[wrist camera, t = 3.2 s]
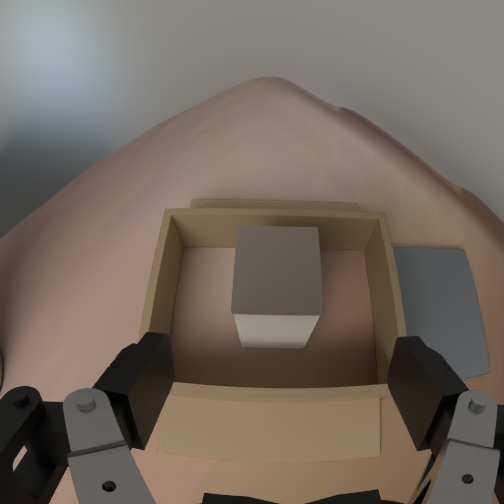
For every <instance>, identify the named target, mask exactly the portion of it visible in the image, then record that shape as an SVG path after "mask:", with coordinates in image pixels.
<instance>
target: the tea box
mask: <svg viewBox="0 0 504 504" xmlns="http://www.w3.org/2000/svg"><path fill="white" fill-rule="evenodd" d="M231 311H232V314H234V318H235V322H236V326H237V329H238V333H239V337H240V341H241V345H242V347H244V348H286V349H304V347H305V345H306V343H307V341H308V339H309V337H310V335H311V333H312V331H313V329H314V327H315V325H316V323H317V321H318V319H319V317H320V316H322V314H323V312H324V308H323V290H322V274H321V259H320V246H319V234H318V227H280V226H238V229H237V241H236V254H235V266H234V279H233V292H232V305H231Z"/></svg>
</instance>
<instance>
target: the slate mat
mask: <svg viewBox="0 0 504 504" xmlns="http://www.w3.org/2000/svg"><path fill="white" fill-rule="evenodd" d="M392 248H393V253H394V258H395V263H396V268H397V274H398V279H399V285H400V291H401V297H402V304H403V311H404V318H405V326H406V334H407V336H419V337H420V338H421V339H422V341H423V342H424V343H425V344H426V346H427V347H428V348H432V349H433V350H435V351H436V352H438V353H440V354H441V355H442V356H443V358H444V359H445V360H446V361H447V364H449V365H450V366H451V367H452V370H454V371H455V372H456V374H457V375H458V376H459V377H460V379H464V378H469V377H473V376H478V375H483V374H487V373H489V372H490V369H489V361H488V353H487V346H486V340H485V334H484V328H483V323H482V318H481V313H480V308H479V303H478V299H477V294H476V290H475V286H474V282H473V278H472V274H471V271H470V267H469V263H468V260H467V256H466V253H465V250H464V249H438V248H404V247H392Z"/></svg>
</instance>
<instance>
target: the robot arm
mask: <svg viewBox="0 0 504 504" xmlns="http://www.w3.org/2000/svg"><path fill="white" fill-rule="evenodd" d="M173 381H174V367H173V360H172V352H171V344H170V338H169V335H168V334H167V333H157V332H146V333H145V334H144V336H143V337H142V338H141V340H140V341H139V342H138V344H133V343H132V344H131V345H129V346H127V347H126V348H124V349H122V350H121V351H120V353H119V354H118V355H117V356H116V358H115V360H113V362H112V363H111V364H110V367H108V368H107V369H106V370H105V372H104V373H103V374H102V376H101V377H100V378H99V380H98V381H97V382H96V383H95V385H94V386H93V387H92V388H84V389H79V390H76V391H74V392H72V393H71V394H69V395H68V396H67V397H66V398H65V400H64V402H47V401H43V400H42V398H41V396H40V393H39V392H38V390H37V389H35V388H33V387H30V386H20V387H16V388H13V389H11V390H10V391H8V392H7V393H6V394H5V395H4V396H3V397H2V398H1V399H0V504H49V502H50V500H51V498H52V496H53V494H54V492H55V490H56V488H57V486H58V484H59V482H60V481H61V479H62V477H63V475H64V473H65V471H66V469H67V467H69V468H70V472H71V476H72V480H73V484H74V487H75V491H76V495H77V498H78V501H79V504H156V502H155V500H154V499H153V497H152V495H151V493H150V491H149V489H148V487H147V485H146V483H145V481H144V479H143V477H142V475H141V473H140V471H139V469H138V467H137V465H136V463H135V461H134V459H133V456H132V454H131V452H130V451H131V449H132V448H136V449H140V450H144V449H145V447H146V445H147V442H148V440H149V438H150V436H151V433H152V431H153V429H154V426H155V424H156V422H157V420H158V417H159V415H160V413H161V411H162V408H163V406H164V404H165V402H166V399H167V397H168V395H169V393H170V390H171V388H172V385H173ZM1 382H2V358H1V352H0V386H1ZM387 383H388V388H389V391H390V393H391V395H392V397H393V399H394V401H395V403H396V405H397V408H398V410H399V412H400V414H401V416H402V418H403V420H404V423H405V425H406V427H407V429H408V431H409V434H410V436H411V438H412V440H413V443H414V445H415V447H416V449H417V451H422V450H426V449H431V451H432V453H431V455H430V457H429V459H428V461H427V463H426V466H425V468H424V471H423V473H422V475H421V477H420V480H419V482H418V484H417V486H416V488H415V490H414V492H413V495H412V497H411V498H410V500H409V502H408V504H491V500H492V496H493V491H494V492H495V494H496V497H497V499H498V501H499V504H504V405H497V403H496V401H495V400H494V399H493V398H492V397H491V396H490V395H489V394H487V393H485V392H482V391H478V390H469V389H468V388H467V386H466V385H465V384H464V383H463V381H462V380H461V379H460V377H459V376H458V375H457V374H456V372H455V371H454V370H452V367H451V366H450V365H449V364H447V361H446V360H445V359H444V358H443V356H442V355H441V354H440V353H438V352H436V351H435V350H433V349H432V348H428V347H427V346H426V344H425V343H424V342H423V341H422V339H421V338H420V337H419V336H405V337H398V338H397V340H396V342H395V346H394V350H393V355H392V359H391V363H390V367H389V371H388V376H387ZM23 446H25V448H26V449H27V452H26V453H25V455H24V456H23V458H22V459H21V461H20V463H19V464H18V466H17V467H16V469H15V470H14V472H13V462H14V459H15V458H16V456H17V455H18V453H19V452H20V450H21V449H22V448H23ZM201 504H279V503H274V502H269V501H264V500H260V499H256V498H251V497H246V496H231V495H220V494H210V493H204V496H203V501H202V503H201ZM306 504H404V503H400V502H395V501H389V500H381V498H380V495H379V491H378V489H377V490H370V491H364V492H356V493H348V494H339V495H335V496H332V497H328V498H325V499H321V500H317V501H314V502H310V503H306Z"/></svg>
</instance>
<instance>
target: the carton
mask: <svg viewBox="0 0 504 504" xmlns="http://www.w3.org/2000/svg"><path fill="white" fill-rule="evenodd" d="M238 226H280V227H318V234H319V246H320V249H334V250H364V253H365V260H366V266H367V273H368V281H369V288H370V297H371V305H372V315H373V325H374V335H375V348H376V362H377V380H378V385H366V386H351V387H332V388H248V387H228V386H213V385H201V384H190V383H180V382H173V385H172V388H171V390H170V393H169V395H168V397H167V399H166V402H165V404H164V406H163V408H162V411H161V413H160V420H159V432H158V446H157V452H162V453H168V454H174V455H181V456H188V457H196V458H204V459H214V460H225V461H240V462H263V463H298V462H322V461H336V460H347V459H357V458H365V457H373V456H380V399H381V398H387V397H391V396H392V395H391V393H390V391H389V388H388V383H387V376H388V371H389V367H390V363H391V359H392V355H393V350H394V346H395V342H396V340H397V338H398V337H405V336H407V334H406V326H405V318H404V311H403V304H402V297H401V291H400V285H399V279H398V274H397V268H396V263H395V258H394V253H393V248H392V243H391V239H390V234H389V230H388V225H387V221H386V217H385V213H373V212H358V207H357V203H342V202H318V201H284V200H191V205H190V208H178V209H165V212H164V216H163V220H162V225H161V229H160V233H159V237H158V241H157V246H156V250H155V255H154V259H153V264H152V269H151V274H150V278H149V283H148V289H147V294H146V299H145V304H144V310H143V316H142V321H141V327H140V333H139V340H138V342H139V341H140V340H141V338H142V337H143V336H144V334H145V333H146V332H157V333H167V334H168V335H169V338H170V331H171V323H172V316H173V309H174V302H175V296H176V289H177V283H178V277H179V271H180V265H181V259H182V253H183V248H184V247H235V248H236V241H237V229H238Z"/></svg>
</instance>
